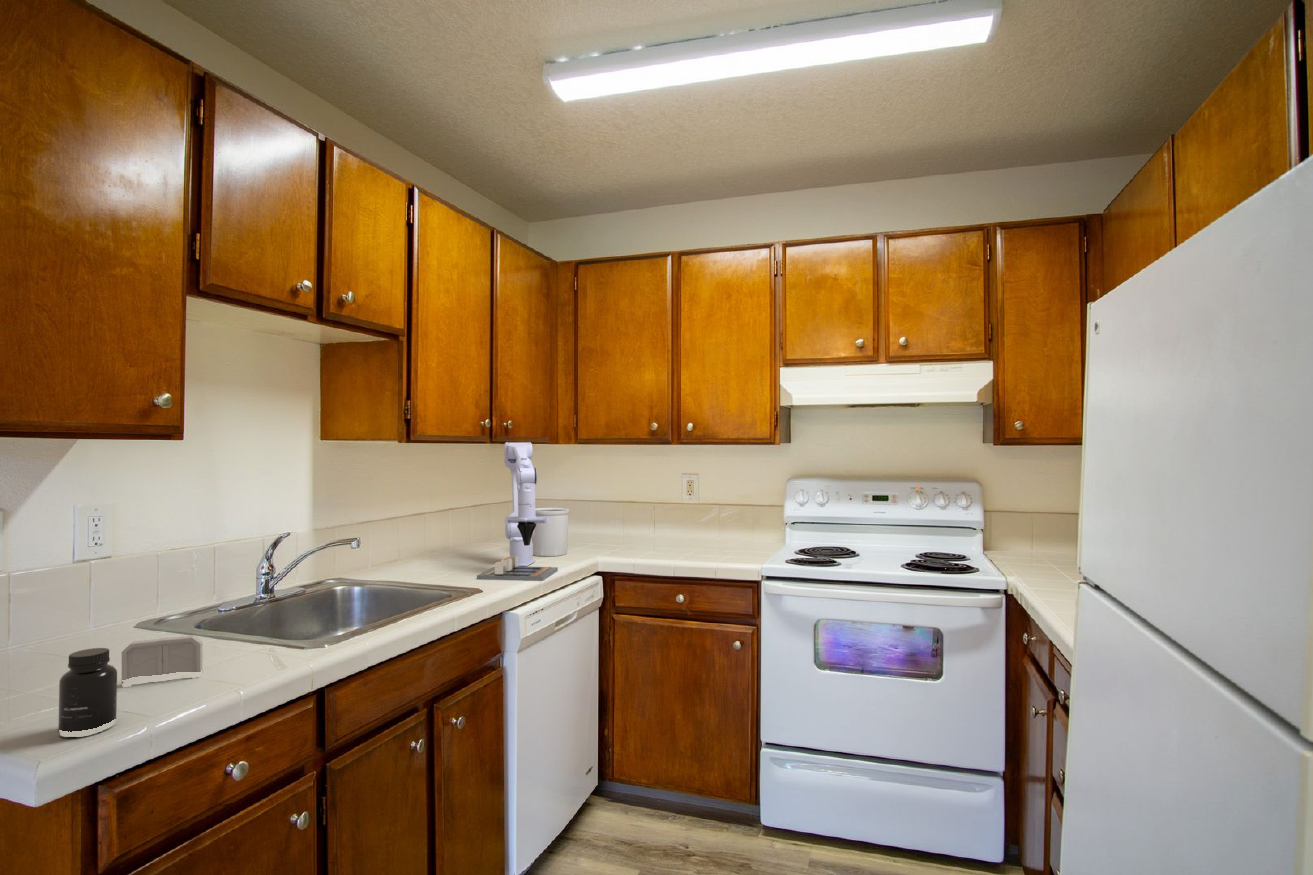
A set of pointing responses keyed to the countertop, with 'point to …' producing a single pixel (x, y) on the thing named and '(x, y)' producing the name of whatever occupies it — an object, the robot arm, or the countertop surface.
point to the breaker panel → (517, 572)
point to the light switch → (162, 656)
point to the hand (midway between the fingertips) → (527, 545)
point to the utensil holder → (551, 532)
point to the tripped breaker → (508, 563)
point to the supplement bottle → (87, 691)
